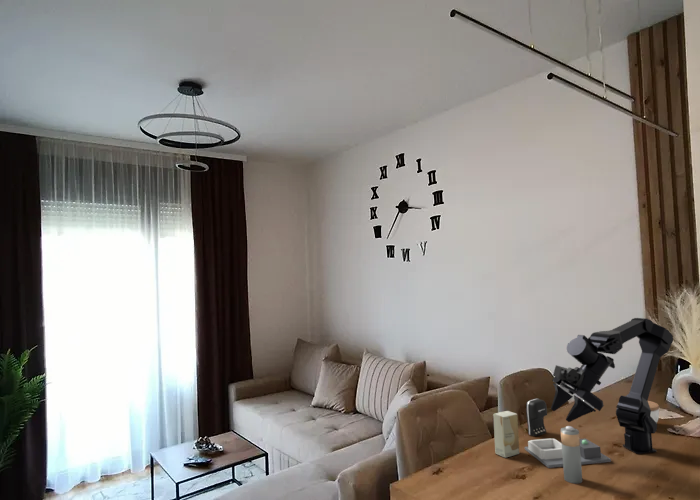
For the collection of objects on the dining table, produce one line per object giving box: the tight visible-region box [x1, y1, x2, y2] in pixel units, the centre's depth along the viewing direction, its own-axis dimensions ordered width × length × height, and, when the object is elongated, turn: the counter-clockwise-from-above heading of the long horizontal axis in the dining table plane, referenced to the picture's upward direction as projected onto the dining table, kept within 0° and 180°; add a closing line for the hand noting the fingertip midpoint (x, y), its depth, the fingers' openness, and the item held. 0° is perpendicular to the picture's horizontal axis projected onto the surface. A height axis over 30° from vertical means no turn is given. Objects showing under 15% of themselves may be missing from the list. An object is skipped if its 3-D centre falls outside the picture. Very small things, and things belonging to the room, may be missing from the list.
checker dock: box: [524, 438, 612, 469], centre depth 139 cm, size 19×14×5 cm
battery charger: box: [525, 398, 548, 437], centre depth 157 cm, size 7×4×11 cm, turn 121°
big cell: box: [560, 425, 583, 484], centre depth 124 cm, size 4×4×14 cm
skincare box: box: [492, 410, 520, 459], centre depth 143 cm, size 6×4×12 cm
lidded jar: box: [648, 400, 660, 424], centre depth 160 cm, size 11×11×9 cm
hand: (559, 415), depth 134 cm, fingers open, 9 cm apart
